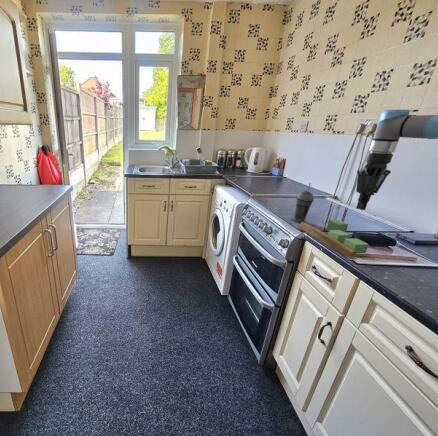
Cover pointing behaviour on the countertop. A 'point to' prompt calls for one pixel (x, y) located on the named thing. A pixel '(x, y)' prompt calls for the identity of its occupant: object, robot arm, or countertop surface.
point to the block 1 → (337, 225)
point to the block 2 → (357, 245)
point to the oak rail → (329, 240)
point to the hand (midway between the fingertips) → (360, 208)
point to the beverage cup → (303, 205)
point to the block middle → (338, 235)
